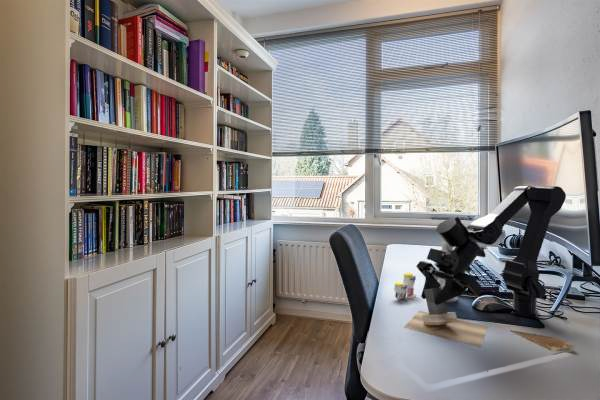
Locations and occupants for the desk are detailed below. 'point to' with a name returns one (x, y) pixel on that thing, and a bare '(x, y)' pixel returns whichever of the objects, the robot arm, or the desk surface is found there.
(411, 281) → the toy figures
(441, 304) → the grey block on base
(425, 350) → the desk surface
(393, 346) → the desk surface
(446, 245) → the plastic bottle
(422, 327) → the oak board
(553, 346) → the shard
